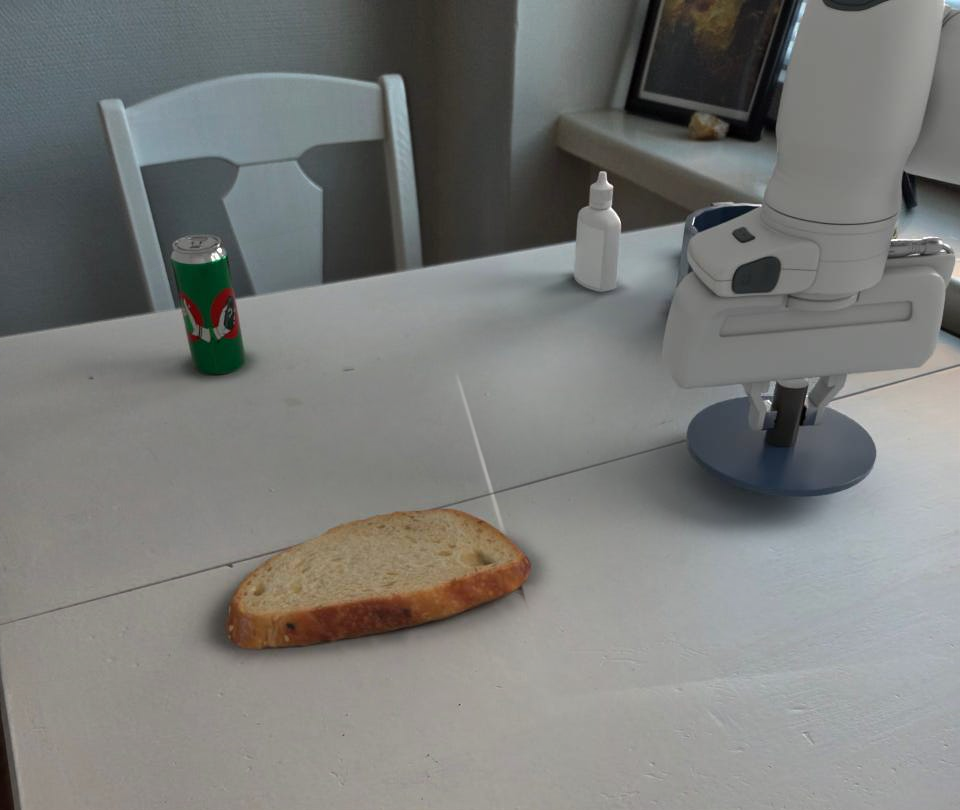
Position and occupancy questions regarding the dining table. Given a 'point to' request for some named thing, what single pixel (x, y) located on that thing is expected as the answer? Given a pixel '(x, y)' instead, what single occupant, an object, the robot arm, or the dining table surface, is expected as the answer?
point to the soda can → (208, 304)
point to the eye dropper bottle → (598, 239)
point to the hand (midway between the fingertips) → (783, 424)
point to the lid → (781, 446)
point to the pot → (708, 226)
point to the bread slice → (375, 579)
